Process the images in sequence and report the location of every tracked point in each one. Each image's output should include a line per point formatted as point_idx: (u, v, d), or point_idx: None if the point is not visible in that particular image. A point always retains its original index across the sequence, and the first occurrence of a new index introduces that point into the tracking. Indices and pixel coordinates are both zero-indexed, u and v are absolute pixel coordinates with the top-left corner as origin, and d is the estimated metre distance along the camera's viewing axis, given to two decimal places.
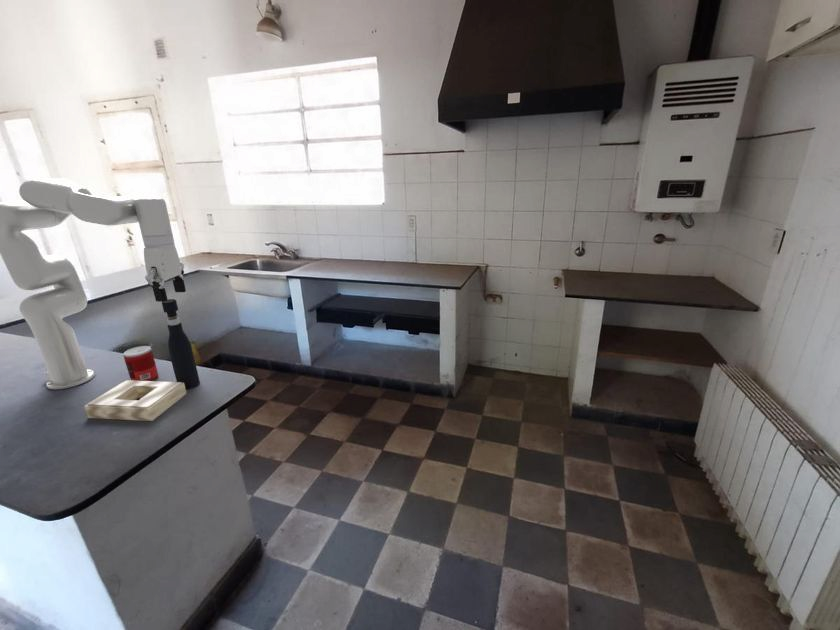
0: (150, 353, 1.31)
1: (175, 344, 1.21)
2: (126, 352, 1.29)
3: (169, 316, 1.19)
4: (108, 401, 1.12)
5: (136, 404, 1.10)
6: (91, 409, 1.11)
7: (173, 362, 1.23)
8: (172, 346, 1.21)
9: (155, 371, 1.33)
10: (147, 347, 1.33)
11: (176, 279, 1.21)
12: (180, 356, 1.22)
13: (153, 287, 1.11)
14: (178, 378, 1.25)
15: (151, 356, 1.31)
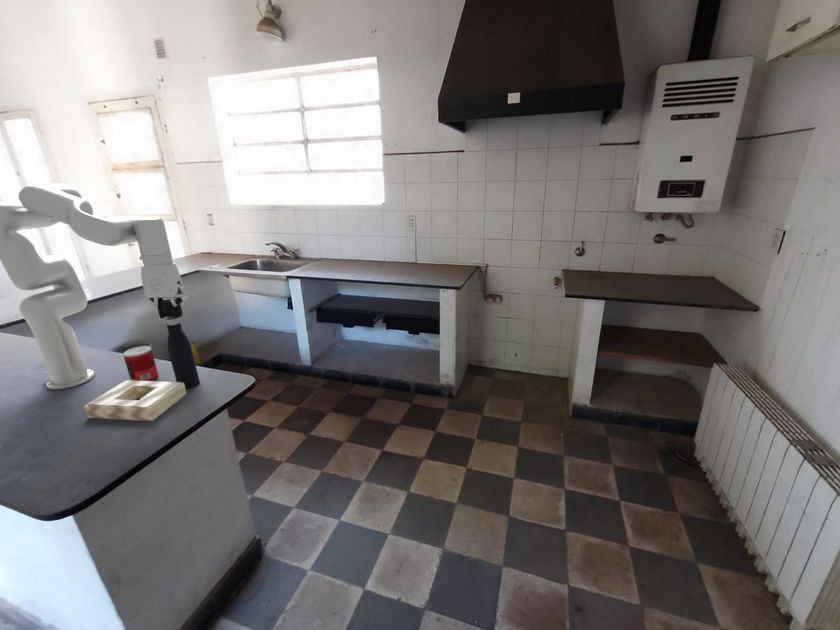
0: (150, 353, 1.31)
1: (174, 344, 1.21)
2: (126, 352, 1.29)
3: (168, 316, 1.19)
4: (108, 401, 1.12)
5: (136, 404, 1.10)
6: (91, 409, 1.11)
7: (173, 362, 1.23)
8: (171, 346, 1.21)
9: (155, 371, 1.33)
10: (147, 347, 1.33)
11: None
12: (179, 356, 1.22)
13: (179, 303, 1.19)
14: (178, 378, 1.25)
15: (151, 356, 1.31)
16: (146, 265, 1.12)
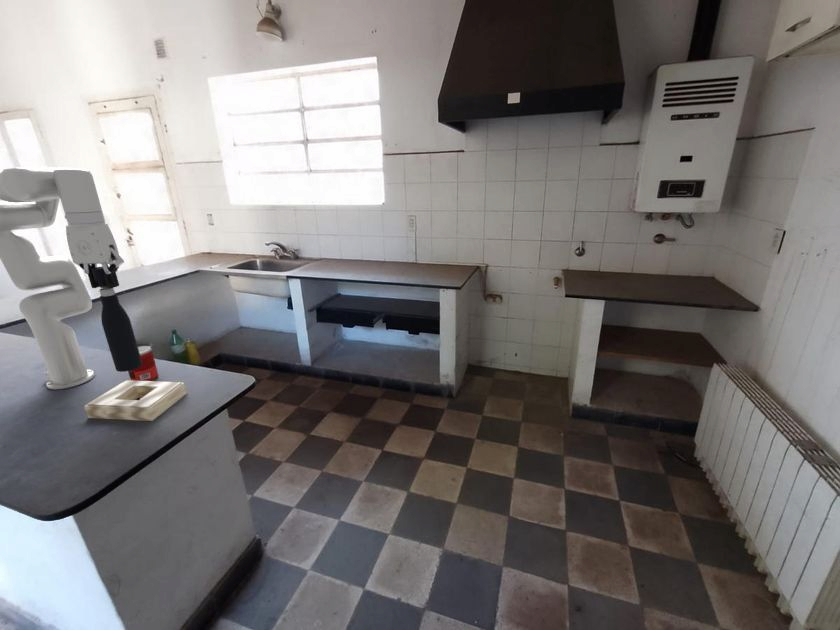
0: (150, 353, 1.31)
1: (109, 318, 1.06)
2: None
3: (101, 285, 1.04)
4: (108, 401, 1.12)
5: (136, 404, 1.10)
6: (91, 409, 1.11)
7: (108, 339, 1.08)
8: (105, 320, 1.06)
9: (155, 371, 1.33)
10: (147, 347, 1.33)
11: None
12: (115, 332, 1.07)
13: (113, 271, 1.03)
14: (114, 358, 1.09)
15: (151, 356, 1.31)
16: (70, 224, 0.96)
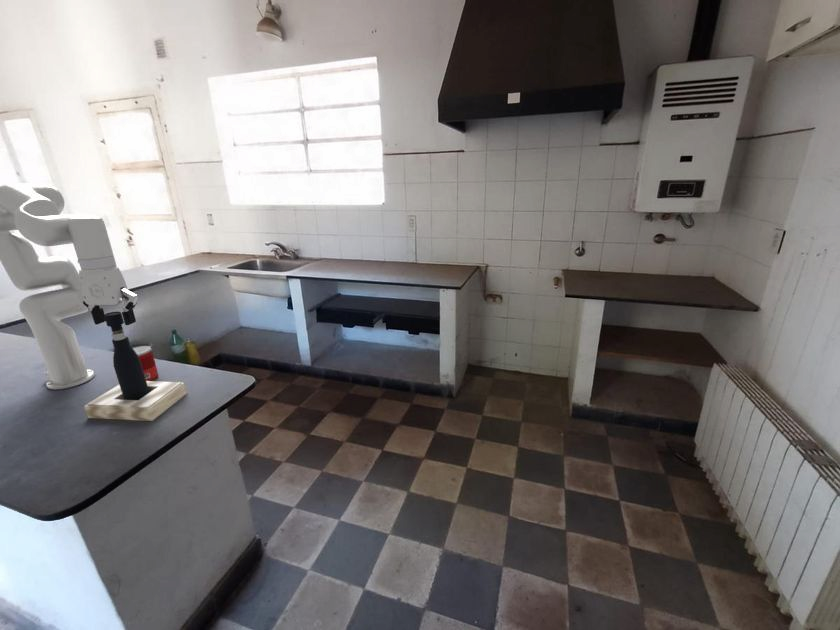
0: (150, 353, 1.31)
1: (120, 361, 1.10)
2: None
3: (113, 330, 1.09)
4: (108, 401, 1.12)
5: (136, 404, 1.10)
6: (91, 409, 1.11)
7: (119, 380, 1.12)
8: (117, 363, 1.10)
9: (155, 371, 1.33)
10: (147, 347, 1.33)
11: (96, 309, 1.08)
12: (126, 374, 1.11)
13: (130, 308, 1.06)
14: (125, 398, 1.14)
15: (151, 356, 1.31)
16: (83, 269, 1.00)
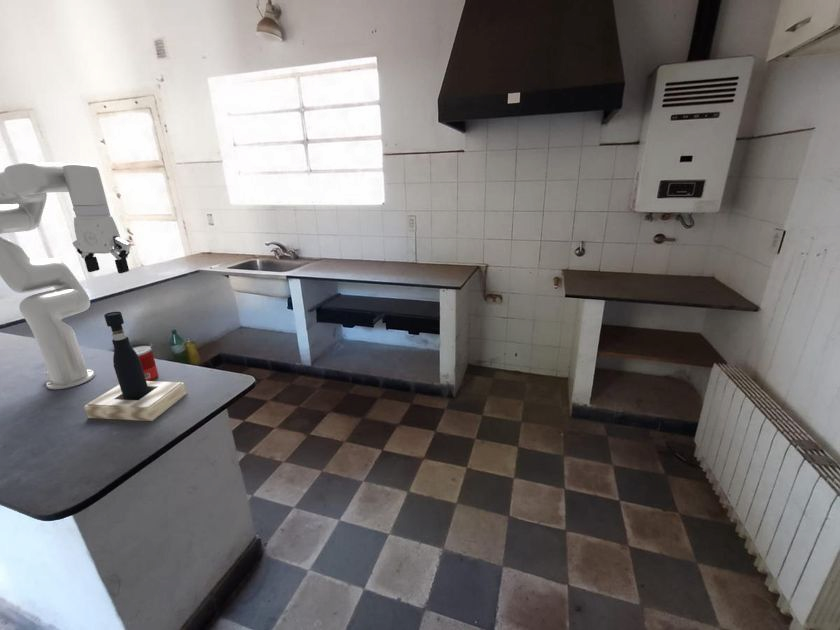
0: (150, 353, 1.31)
1: (120, 361, 1.10)
2: None
3: (113, 330, 1.09)
4: (108, 401, 1.12)
5: (136, 404, 1.10)
6: (91, 409, 1.11)
7: (119, 380, 1.12)
8: (117, 363, 1.10)
9: (155, 371, 1.33)
10: (147, 347, 1.33)
11: (89, 257, 1.11)
12: (126, 374, 1.11)
13: (123, 256, 1.09)
14: (125, 398, 1.14)
15: (151, 356, 1.31)
16: (78, 216, 1.03)
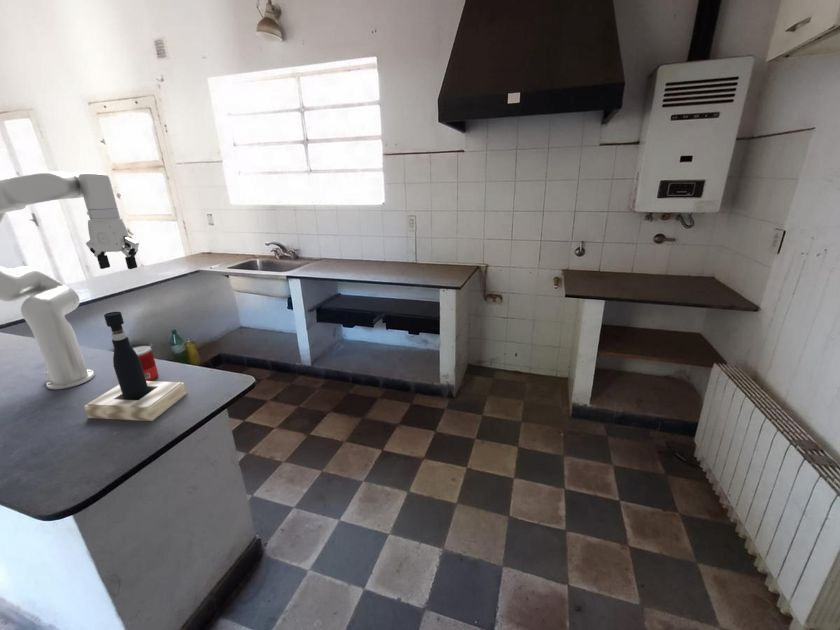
0: (150, 353, 1.31)
1: (120, 361, 1.10)
2: None
3: (113, 330, 1.08)
4: (108, 401, 1.12)
5: (136, 404, 1.10)
6: (91, 409, 1.11)
7: (119, 380, 1.12)
8: (117, 363, 1.10)
9: (155, 371, 1.33)
10: (147, 347, 1.33)
11: (101, 255, 1.24)
12: (126, 374, 1.11)
13: (132, 254, 1.23)
14: (125, 398, 1.14)
15: (151, 356, 1.31)
16: (92, 219, 1.17)
